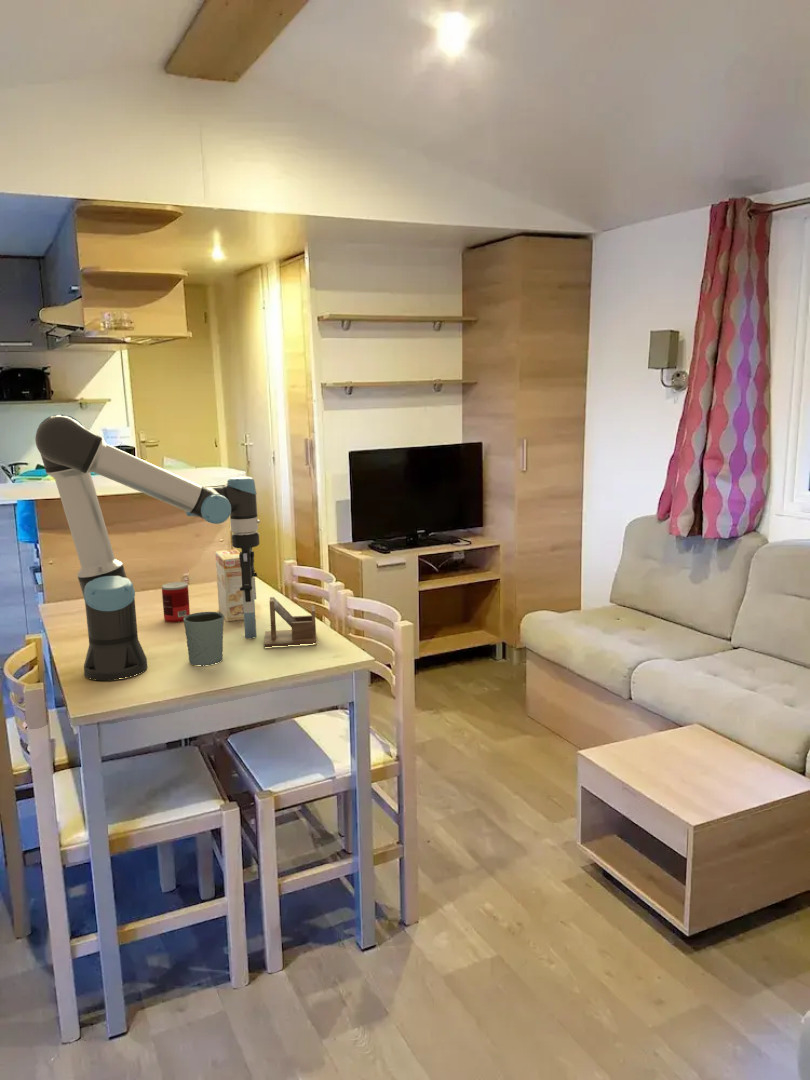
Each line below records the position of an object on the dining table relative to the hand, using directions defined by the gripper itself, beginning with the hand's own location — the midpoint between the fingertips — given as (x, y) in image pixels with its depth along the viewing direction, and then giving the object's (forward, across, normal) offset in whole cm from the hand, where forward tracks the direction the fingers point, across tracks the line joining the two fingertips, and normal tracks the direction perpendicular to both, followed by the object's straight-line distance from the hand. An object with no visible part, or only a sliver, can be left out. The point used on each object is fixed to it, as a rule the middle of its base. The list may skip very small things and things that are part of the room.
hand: (250, 605), depth 230 cm
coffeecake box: (+9, +24, +7) cm, 27 cm away
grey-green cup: (+9, -19, +11) cm, 24 cm away
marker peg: (+9, 0, +1) cm, 9 cm away
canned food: (+9, +22, +24) cm, 34 cm away
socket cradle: (+9, -6, -11) cm, 15 cm away
